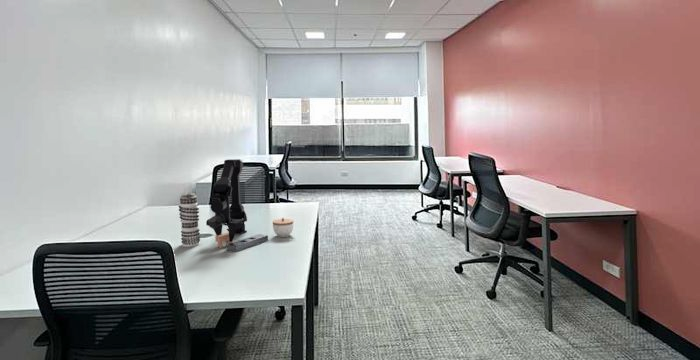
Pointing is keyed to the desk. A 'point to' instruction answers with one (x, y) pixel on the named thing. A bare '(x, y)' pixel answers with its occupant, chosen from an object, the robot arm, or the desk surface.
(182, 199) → the ribbed stacked tower
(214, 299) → the desk surface
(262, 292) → the desk surface
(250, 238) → the rail
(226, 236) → the peach rectangular block
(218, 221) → the robot arm
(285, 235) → the lidded jar
